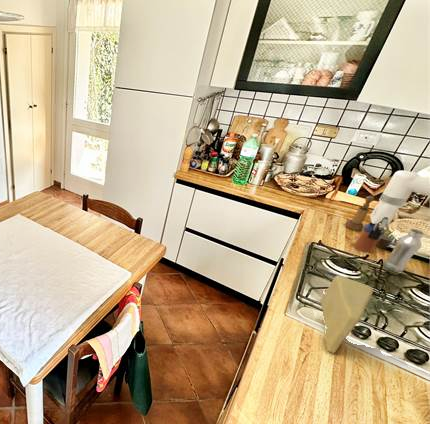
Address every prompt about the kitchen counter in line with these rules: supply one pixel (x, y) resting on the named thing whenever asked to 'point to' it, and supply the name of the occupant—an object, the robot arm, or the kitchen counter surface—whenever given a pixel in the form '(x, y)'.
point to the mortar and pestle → (360, 215)
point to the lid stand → (384, 242)
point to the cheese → (343, 309)
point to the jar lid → (371, 228)
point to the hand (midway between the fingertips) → (371, 234)
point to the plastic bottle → (403, 251)
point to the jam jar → (366, 242)
